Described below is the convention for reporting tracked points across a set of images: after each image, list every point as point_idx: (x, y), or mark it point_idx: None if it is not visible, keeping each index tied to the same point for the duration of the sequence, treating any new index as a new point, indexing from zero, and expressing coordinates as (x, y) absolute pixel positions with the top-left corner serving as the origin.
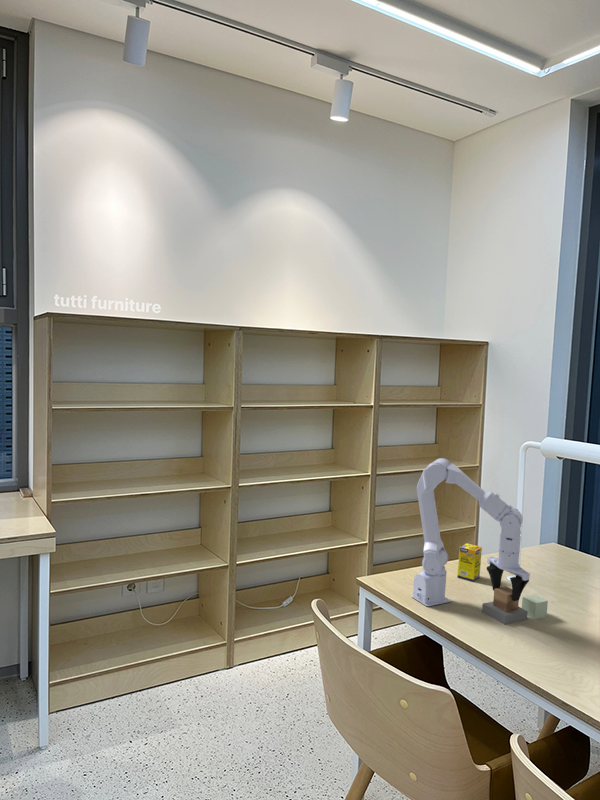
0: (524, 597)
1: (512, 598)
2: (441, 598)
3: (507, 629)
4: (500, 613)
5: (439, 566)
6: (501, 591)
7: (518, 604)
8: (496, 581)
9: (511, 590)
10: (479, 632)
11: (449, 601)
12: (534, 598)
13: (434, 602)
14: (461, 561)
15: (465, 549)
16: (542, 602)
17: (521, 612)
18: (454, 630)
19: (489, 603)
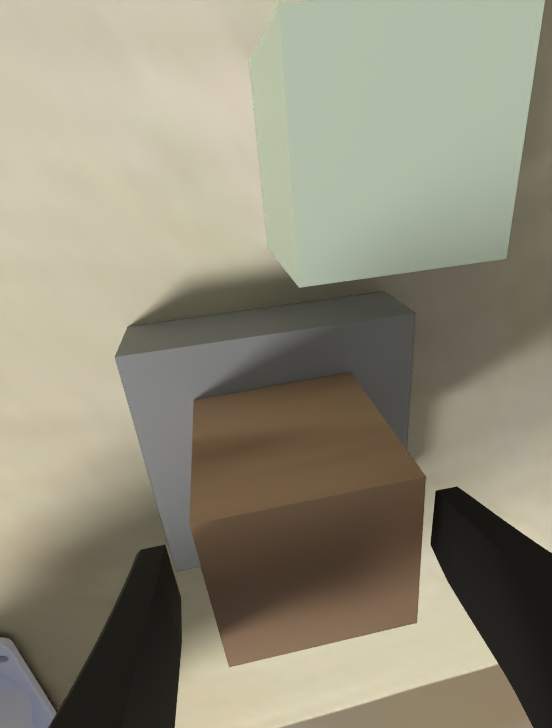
0: (324, 277)
1: (447, 567)
2: (15, 716)
3: (431, 498)
4: None
5: None
6: (317, 634)
7: (364, 392)
8: (160, 708)
9: (333, 531)
10: None
11: (13, 649)
12: (402, 156)
13: (34, 718)
14: None
15: None
16: (520, 125)
17: (409, 383)
18: (334, 693)
19: (185, 528)
